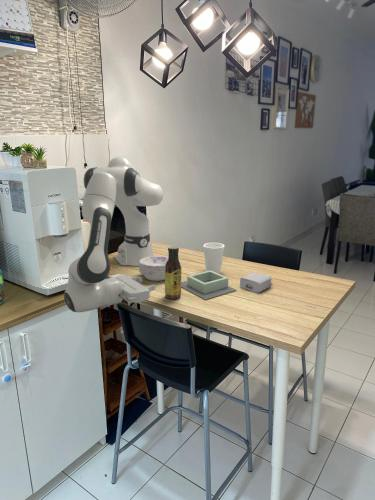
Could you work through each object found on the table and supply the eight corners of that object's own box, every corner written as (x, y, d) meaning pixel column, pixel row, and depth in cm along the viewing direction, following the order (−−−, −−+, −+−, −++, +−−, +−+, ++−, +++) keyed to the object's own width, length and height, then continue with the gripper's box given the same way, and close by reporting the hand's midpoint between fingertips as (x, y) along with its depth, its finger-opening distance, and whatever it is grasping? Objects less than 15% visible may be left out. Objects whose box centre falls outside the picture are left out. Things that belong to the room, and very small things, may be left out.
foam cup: (198, 272, 177) (199, 244, 173) (214, 268, 182) (214, 241, 178) (212, 277, 169) (213, 249, 166) (227, 273, 175) (228, 246, 171)
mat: (175, 284, 162) (175, 283, 162) (205, 276, 171) (205, 275, 171) (205, 300, 146) (205, 299, 146) (236, 290, 155) (236, 289, 155)
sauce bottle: (175, 301, 145) (175, 250, 140) (161, 298, 148) (161, 248, 143) (184, 295, 151) (184, 246, 145) (170, 292, 154) (170, 244, 148)
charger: (278, 283, 163) (258, 293, 153) (259, 278, 169) (239, 287, 159) (279, 273, 162) (259, 282, 151) (260, 268, 168) (240, 277, 158)
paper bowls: (168, 270, 179) (168, 253, 177) (178, 281, 165) (178, 263, 163) (136, 273, 175) (135, 256, 172) (143, 285, 161) (143, 267, 158)
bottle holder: (187, 285, 160) (187, 276, 159) (210, 279, 167) (210, 270, 166) (204, 294, 151) (204, 284, 150) (228, 287, 158) (228, 277, 157)
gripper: (126, 292, 124) (162, 283, 132) (100, 274, 140) (134, 267, 148) (127, 310, 126) (163, 300, 134) (101, 290, 142) (135, 282, 149)
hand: (147, 282), depth 141 cm, fingers open, 8 cm apart
